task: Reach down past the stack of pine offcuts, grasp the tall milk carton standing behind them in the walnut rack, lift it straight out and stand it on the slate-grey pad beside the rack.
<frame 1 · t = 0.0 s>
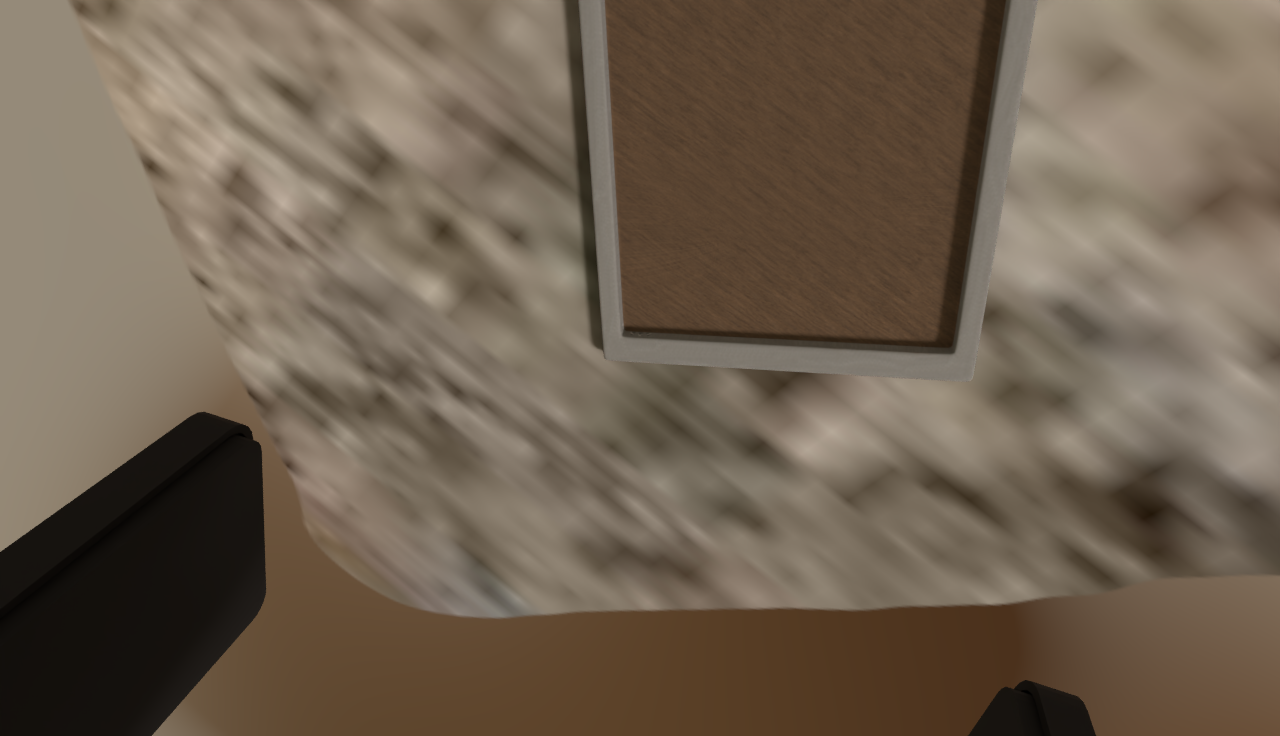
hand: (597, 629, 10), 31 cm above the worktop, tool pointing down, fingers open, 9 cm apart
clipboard: (793, 64, 36), on the worktop
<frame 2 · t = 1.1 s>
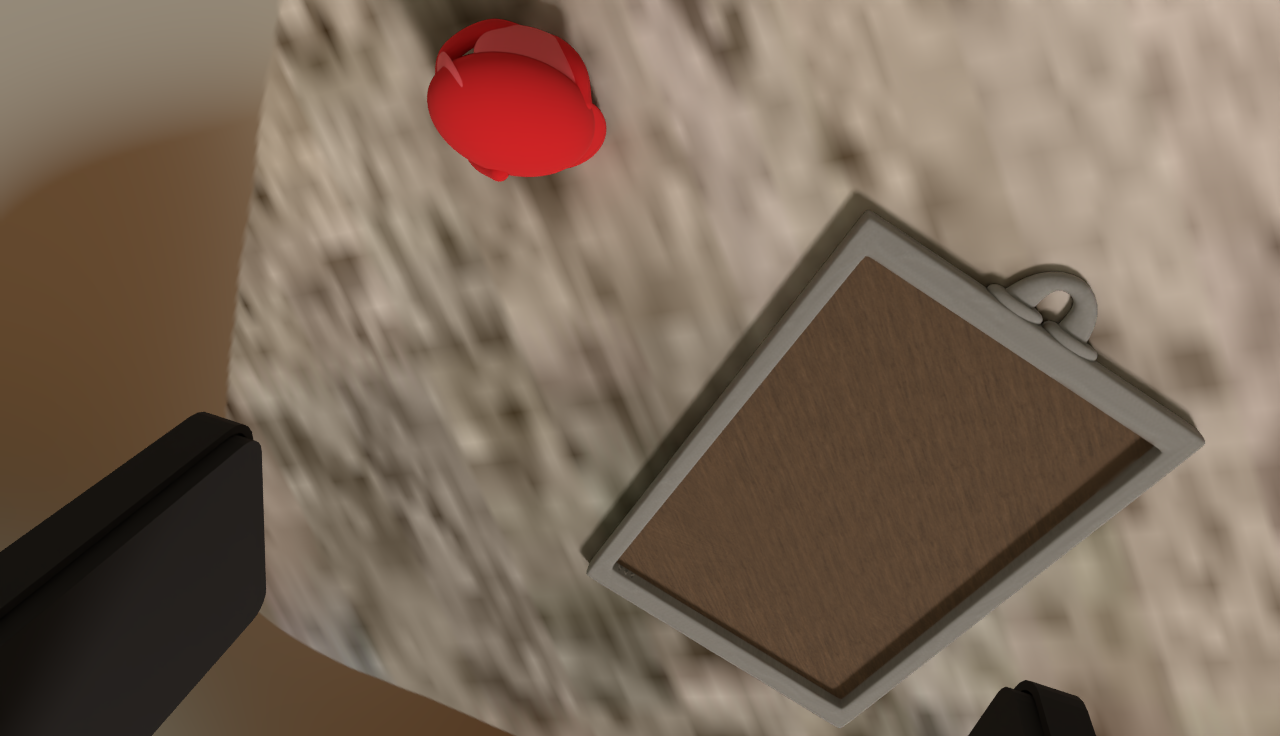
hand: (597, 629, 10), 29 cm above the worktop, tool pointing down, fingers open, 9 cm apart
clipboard: (866, 483, 43), on the worktop
red rounded piece: (538, 97, 37), on the worktop
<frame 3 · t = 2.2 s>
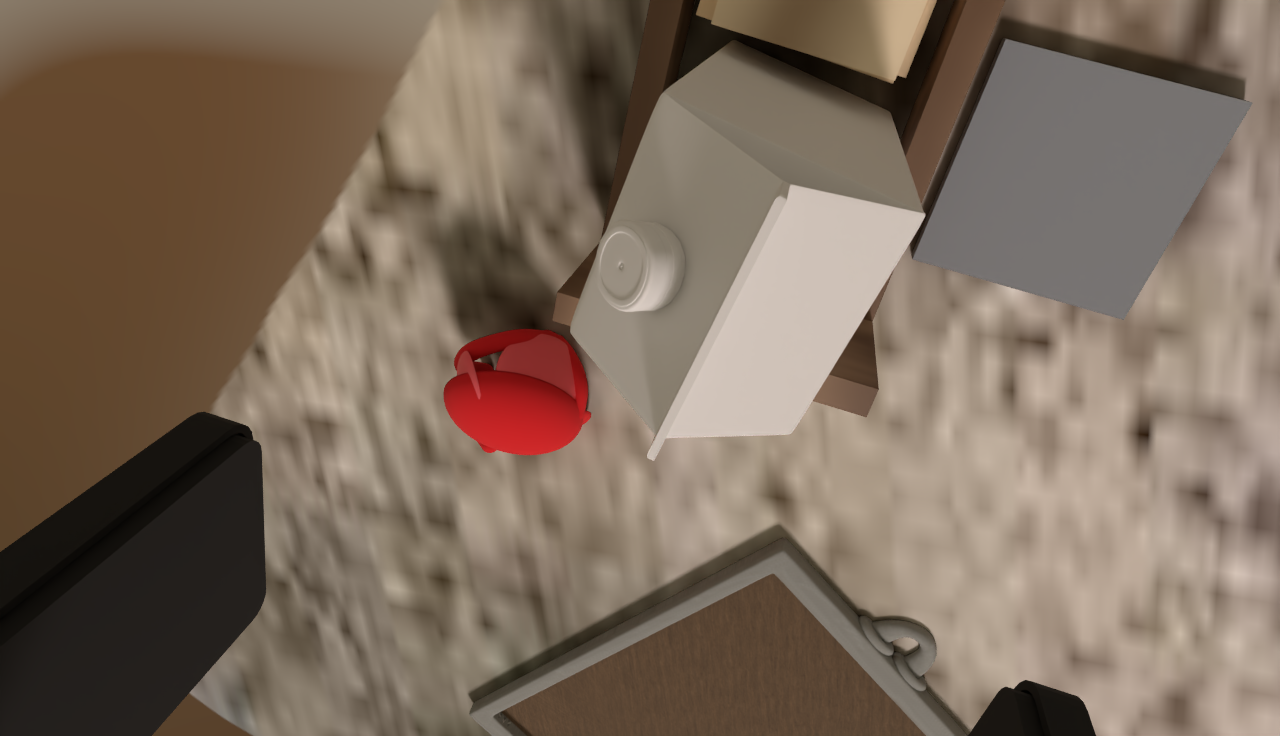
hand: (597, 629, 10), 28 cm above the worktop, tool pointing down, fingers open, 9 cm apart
rack: (787, 108, 33), on the worktop
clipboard: (724, 709, 51), on the worktop
pad: (1064, 183, 31), on the worktop
red rounded piece: (539, 369, 41), on the worktop
milk carton: (773, 154, 34), resting in rack
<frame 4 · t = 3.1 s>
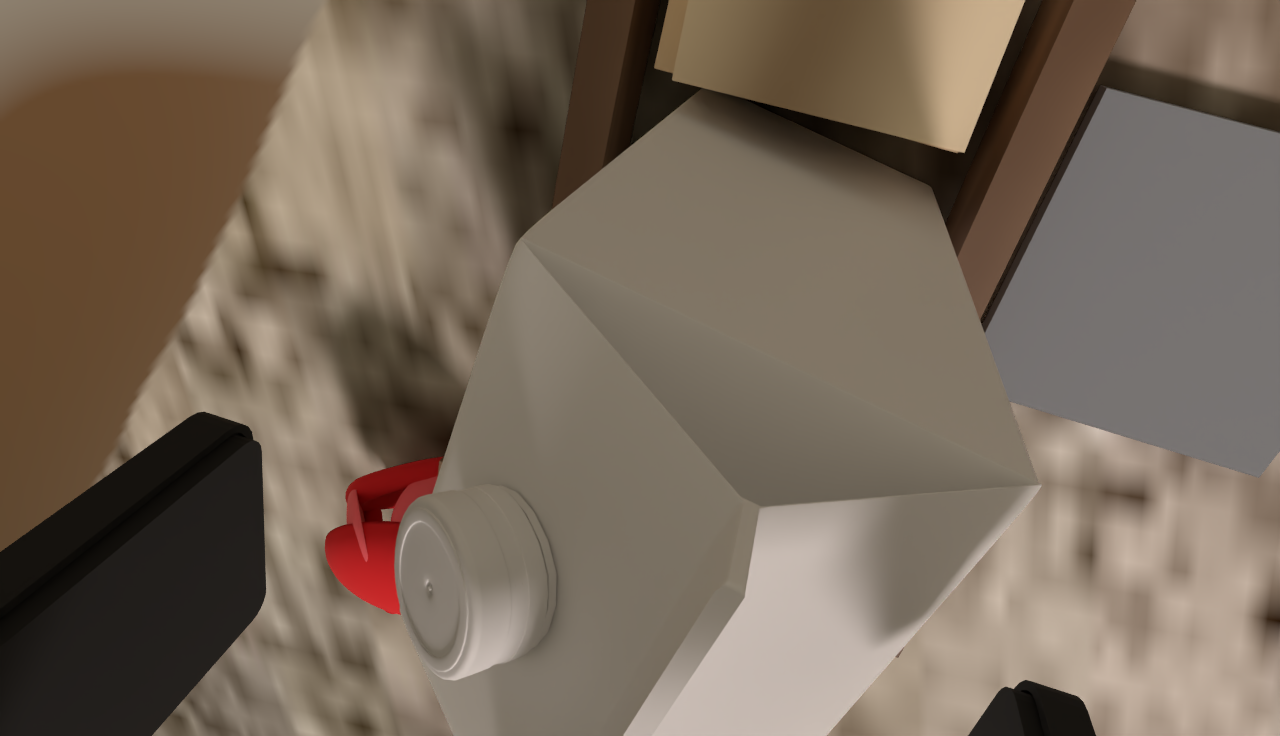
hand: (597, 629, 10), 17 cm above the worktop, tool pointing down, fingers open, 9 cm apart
rack: (785, 177, 23), on the worktop
offcut mid: (831, 20, 20), point 2 cm above the worktop, touching offcut low, offcut top
pad: (1181, 290, 22), on the worktop
red rounded piece: (466, 494, 32), on the worktop
milk carton: (766, 238, 24), resting in rack
offcut top: (841, 23, 18), point 4 cm above the worktop, touching offcut mid
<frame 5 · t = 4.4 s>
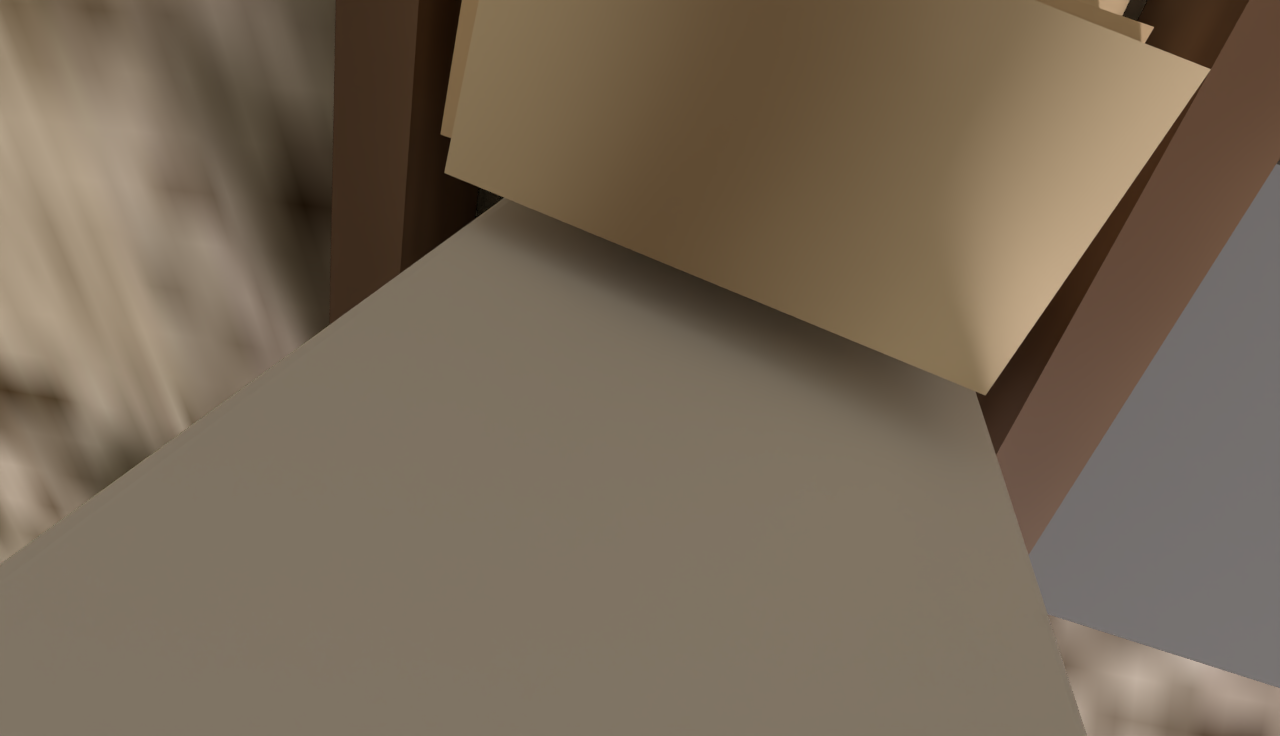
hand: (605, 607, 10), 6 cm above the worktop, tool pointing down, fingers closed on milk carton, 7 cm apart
rack: (715, 285, 15), on the worktop
offcut mid: (766, 66, 11), point 2 cm above the worktop, touching offcut low, offcut top
offcut low: (787, 46, 13), on the worktop, touching offcut mid
milk carton: (690, 369, 16), resting in rack, touching gripper
offcut top: (787, 98, 9), point 4 cm above the worktop, touching offcut mid
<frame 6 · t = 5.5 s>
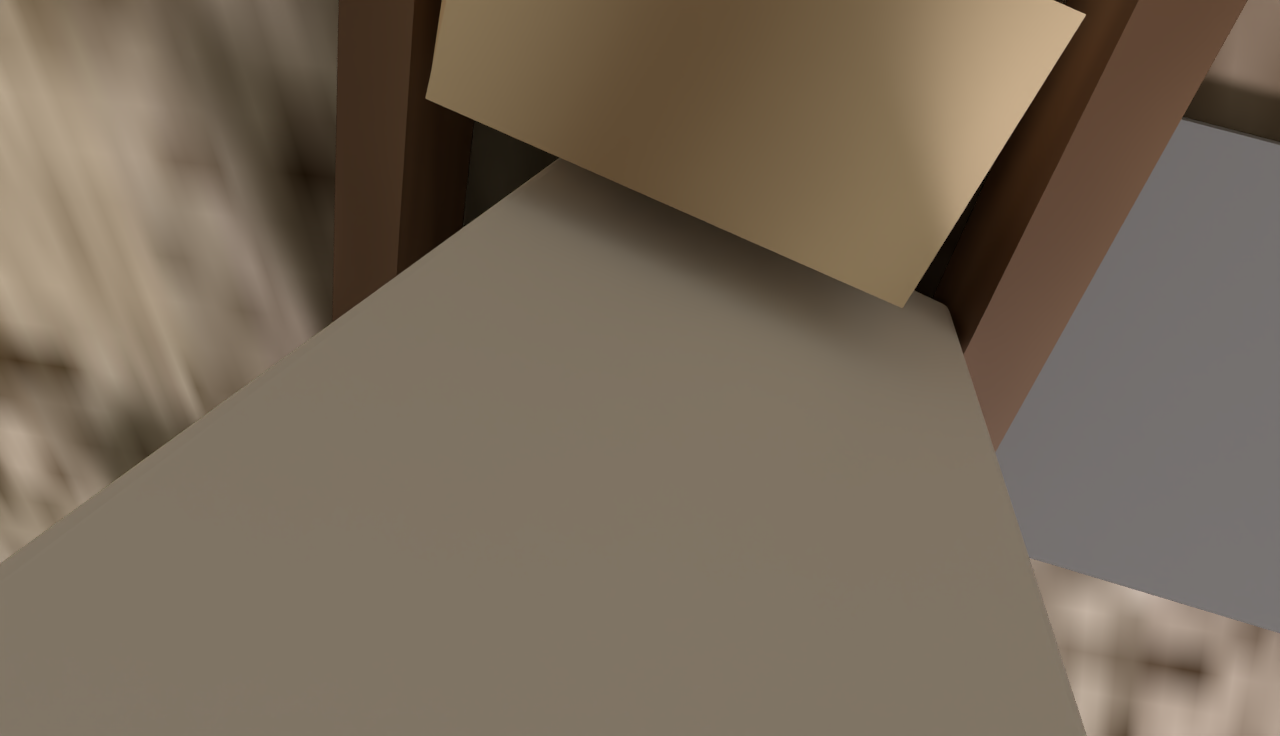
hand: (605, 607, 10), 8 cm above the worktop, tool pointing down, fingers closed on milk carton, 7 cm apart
rack: (692, 245, 16), on the worktop
pad: (1270, 409, 15), on the worktop
milk carton: (691, 369, 16), point 1 cm above the worktop, touching gripper
offcut top: (737, 43, 10), point 4 cm above the worktop, touching offcut mid
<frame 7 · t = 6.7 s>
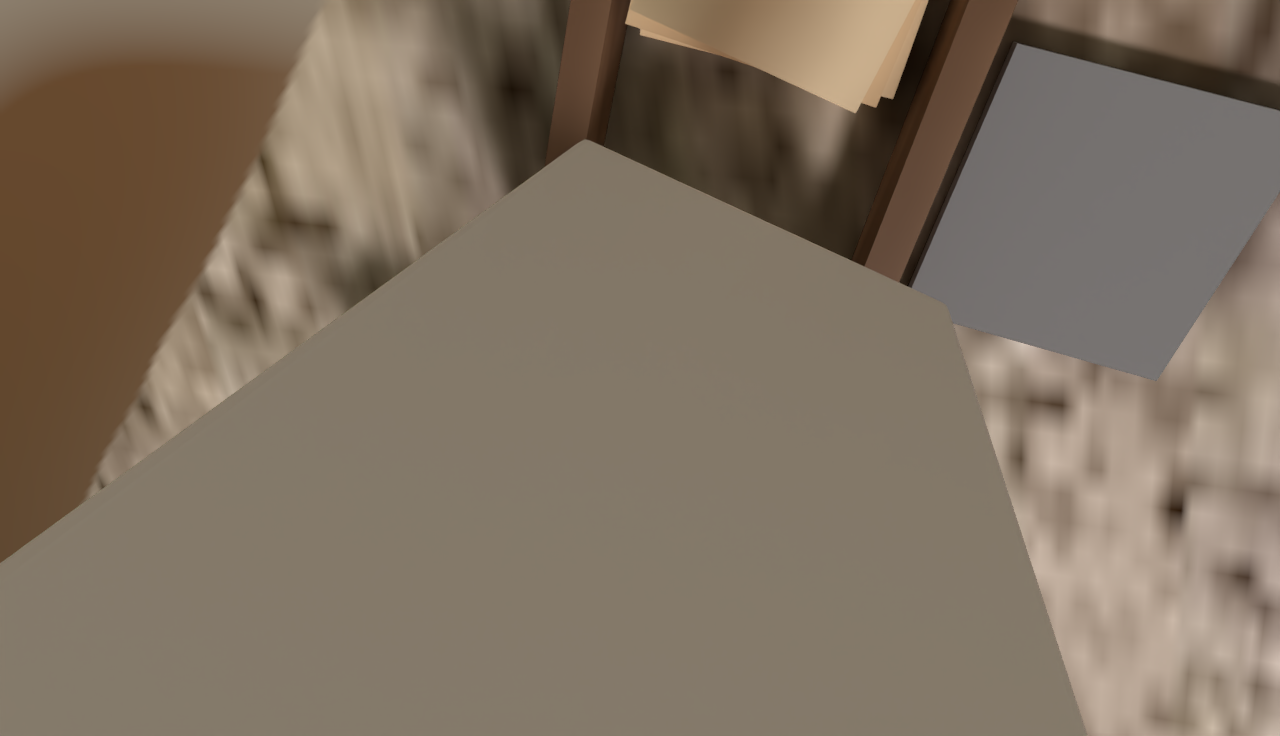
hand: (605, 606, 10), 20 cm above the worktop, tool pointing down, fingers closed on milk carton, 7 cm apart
rack: (749, 127, 27), on the worktop
pad: (1086, 219, 26), on the worktop
milk carton: (690, 368, 16), point 14 cm above the worktop, touching gripper
when the fingers open (8 cm above the worktop, at t = 11.0 s): milk carton drops 1 cm, resting on pad.
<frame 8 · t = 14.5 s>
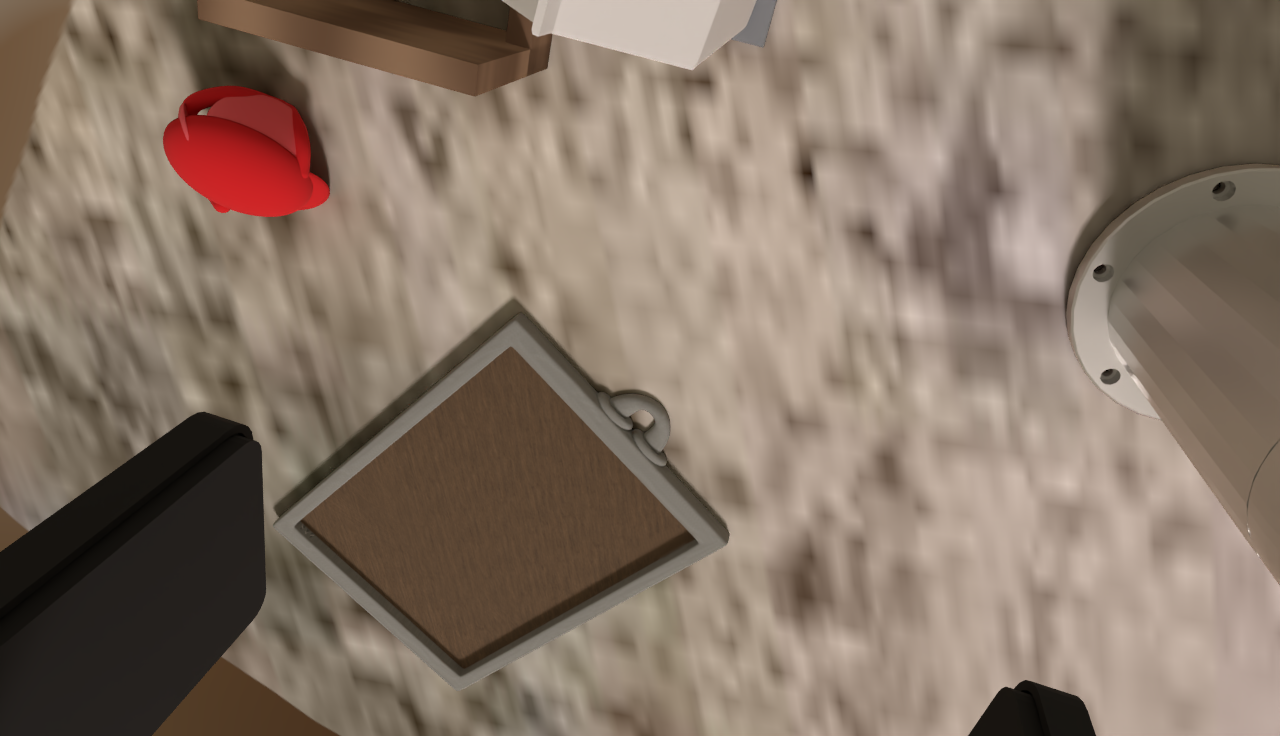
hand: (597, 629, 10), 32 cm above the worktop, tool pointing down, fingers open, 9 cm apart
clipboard: (503, 510, 54), on the worktop
red rounded piece: (282, 146, 44), on the worktop
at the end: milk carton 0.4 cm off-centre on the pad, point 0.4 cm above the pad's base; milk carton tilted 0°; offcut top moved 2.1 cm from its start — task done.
